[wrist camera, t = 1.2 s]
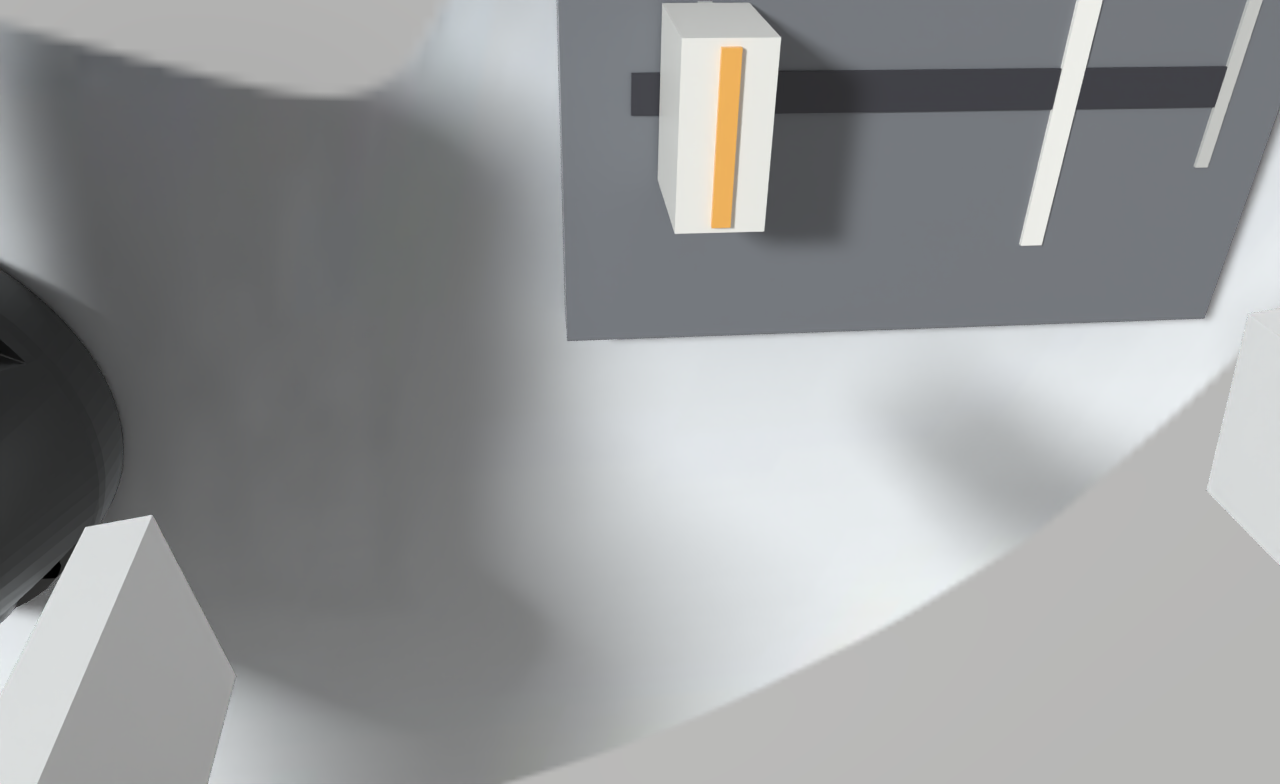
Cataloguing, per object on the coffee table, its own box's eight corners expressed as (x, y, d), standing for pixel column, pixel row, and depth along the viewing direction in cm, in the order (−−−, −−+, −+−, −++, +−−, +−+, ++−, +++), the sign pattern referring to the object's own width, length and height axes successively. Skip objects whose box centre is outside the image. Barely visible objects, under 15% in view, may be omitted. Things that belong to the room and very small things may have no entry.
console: (565, 312, 34) (567, 343, 33) (549, -239, 26) (551, -239, 24) (1172, 292, 36) (1206, 320, 35) (1345, -226, 28) (1401, -224, 26)
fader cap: (657, 179, 30) (675, 235, 26) (662, 2, 27) (682, 40, 24) (737, 178, 30) (765, 233, 27) (749, 2, 27) (782, 39, 24)
